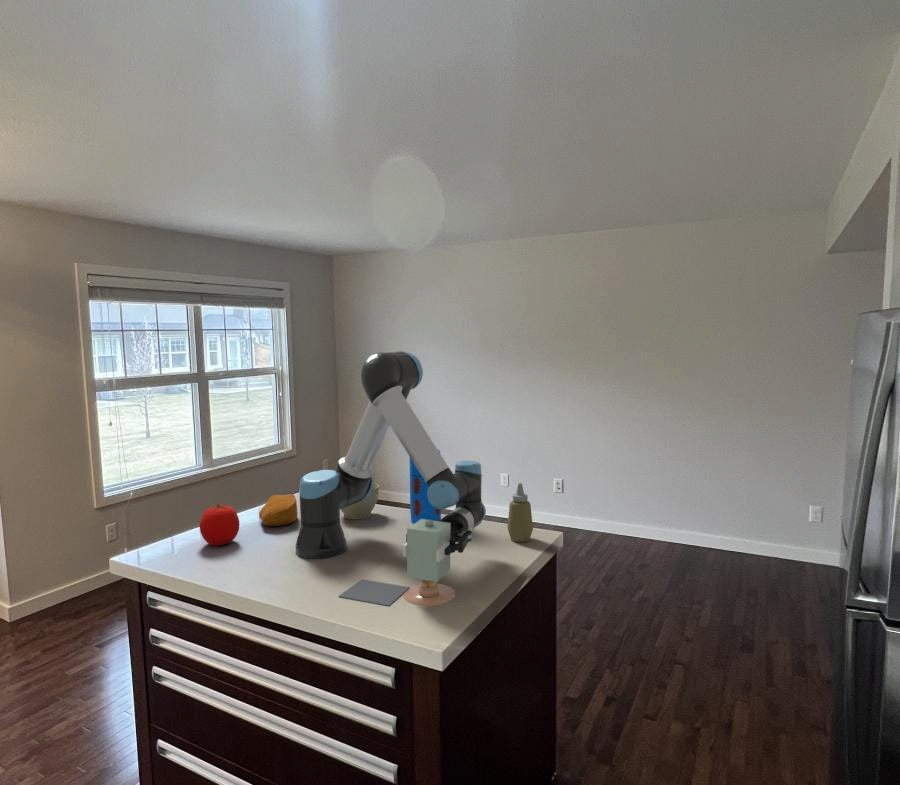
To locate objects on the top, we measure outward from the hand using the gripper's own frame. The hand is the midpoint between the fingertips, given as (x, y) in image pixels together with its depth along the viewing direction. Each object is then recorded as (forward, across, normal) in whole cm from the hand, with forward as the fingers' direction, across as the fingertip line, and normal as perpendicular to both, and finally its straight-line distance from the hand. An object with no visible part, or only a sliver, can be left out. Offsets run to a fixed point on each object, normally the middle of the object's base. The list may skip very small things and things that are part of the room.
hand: (420, 553), depth 139 cm
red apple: (-16, +77, -14) cm, 80 cm away
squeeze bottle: (-53, -10, -13) cm, 55 cm away
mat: (-1, +13, -13) cm, 18 cm away
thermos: (-60, +26, -13) cm, 67 cm away
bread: (-41, +75, -14) cm, 86 cm away
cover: (-5, 0, -7) cm, 8 cm away
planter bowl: (-57, +52, -14) cm, 78 cm away
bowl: (-5, 0, -13) cm, 13 cm away
